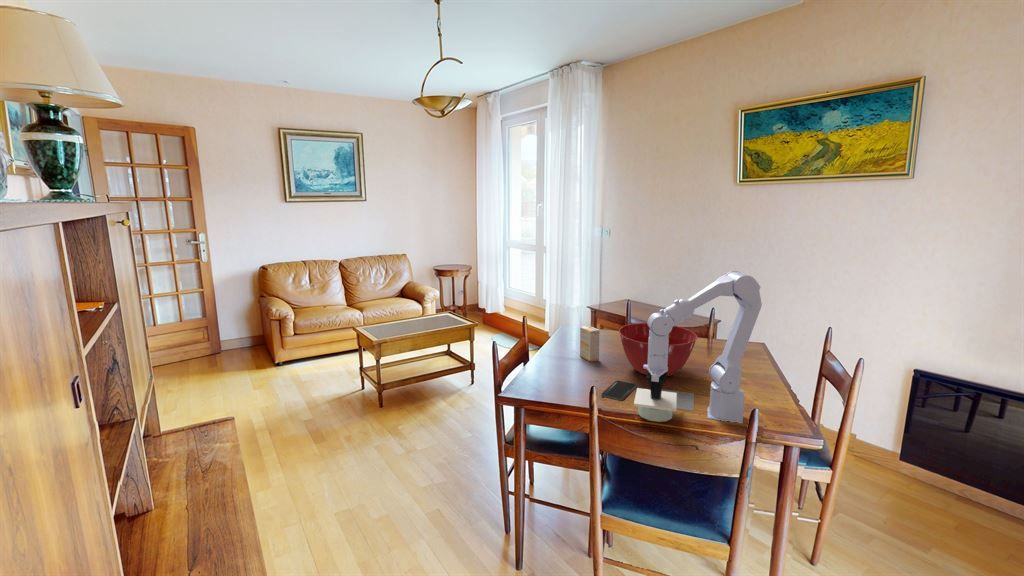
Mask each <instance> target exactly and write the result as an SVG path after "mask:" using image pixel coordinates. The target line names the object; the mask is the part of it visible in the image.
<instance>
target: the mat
mask: <svg viewBox="0 0 1024 576" xmlns="http://www.w3.org/2000/svg"><path fill="white" fill-rule="evenodd" d="M662 391H666V392H674V393H677V401H676V410H684V411H691V412H692V411H693V412H695V411H694V409H695V406H694V405H695V393H694V392H686V391H677V390H671V389H663V388H662Z"/></svg>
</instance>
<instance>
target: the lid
mask: <svg viewBox="0 0 1024 576" xmlns="http://www.w3.org/2000/svg"><path fill="white" fill-rule="evenodd" d="M662 389H663V388H662ZM662 389H661V394H660V397H659V399H656V398H652V396H651V390H650V388H649V389H648V388H640V387H636V392H635V397H634V401H633V406H634V407H637V408H638V407H645V408H653V409H660V410H668V411H673V412H675V413H676V412H677V409H676V401H677V393H674V392H666V391H662Z"/></svg>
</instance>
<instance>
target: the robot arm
mask: <svg viewBox="0 0 1024 576" xmlns="http://www.w3.org/2000/svg"><path fill="white" fill-rule="evenodd" d="M760 289H761V285H760V284H759V282H758V280H756V278H754V276H751V275H747V274H744V273H742V272H741V271H738V270H731V271H728V272H727V273H726V274H724V275H721V276H719V277H718V278H717V279H716V280H715V281H713V282H712V283H710V284H709V285H707V286H706V287H705V288H703V289H701V290H700V291H699V292H697V293H696V294H694V295H692V296H691V297H689V298H688V299H685V298H680V299H675V300H673V303H671V304H670V305H669V306H667V307H666V308H664V309H663V308H661V309H660V310H659V312H654V313H652V314H651V315H650V316H649V318H648V319H647V320H646V323H647V325H648V327H649V328H650V329H649V341H648V365H646V364H645V365H644V366H643V368H644V369H647V370H648V373H649V375H648V374H647V375H646V377H645V378H646V381H647V383H648V385H649V390H651V396H652V398H656V399H659V397H660V394H661V389H663V387H664V384H665V382H666V380H667V376H666V375H667V371H668V367H667V363H668V342H669V339H668V335H669V333H670V332H671V330H672V327H673V326H678V325H679V324H680V323H682V322H684V321H686V320H687V319H689V318H690V317H692V316H693V315H694V312H695V310H696V309H698V308H699V307H701V306H703V305H705V304H707V303H710V302H711V301H712V300H714V299H716V298H718V297H721V296H722V297H734V298H735V300H736V301H737V303H738V305H739V308H738V310H737V312H736V315H735V318H734V321H733V324H732V326H731V329H730V332H729V334H728V337H727V340H726V343H725V345H724V348H723V351H722V353H721V354H720V355H719V356H717V357H716V359H715V362H713V364H711V365H710V367H709V369H708V375H709V377H710V379H711V384H710V393H709V406H707V411H706V412H707V419H708V420H713V419H714V421H720V420H721V422H727V421H730V422H729V423H734V422H737V421H738V423H737V424H741V423H742V424H744V422H743V421H744V413H745V390H743V389H740V387H741V385H742V374H743V367H742V363H741V362H742V359H743V357H744V354H745V351H746V348H747V345H748V343H749V341H750V338H751V336H752V332H753V330H754V327H755V325H756V322H757V320H758V317H759V315H760V312H761V309H762V304H763V303H762V298H761V293H760Z"/></svg>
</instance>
